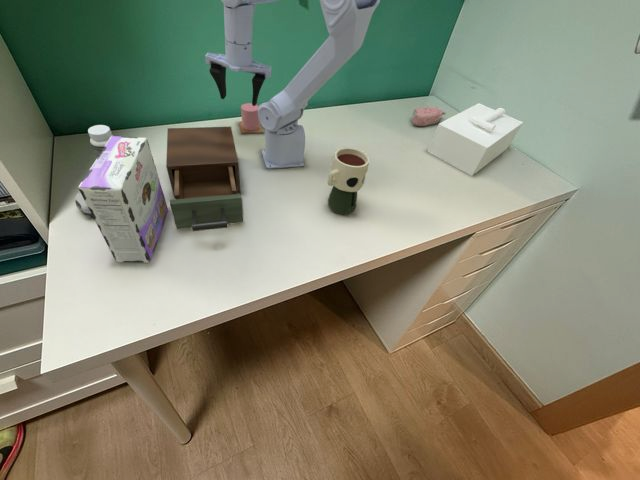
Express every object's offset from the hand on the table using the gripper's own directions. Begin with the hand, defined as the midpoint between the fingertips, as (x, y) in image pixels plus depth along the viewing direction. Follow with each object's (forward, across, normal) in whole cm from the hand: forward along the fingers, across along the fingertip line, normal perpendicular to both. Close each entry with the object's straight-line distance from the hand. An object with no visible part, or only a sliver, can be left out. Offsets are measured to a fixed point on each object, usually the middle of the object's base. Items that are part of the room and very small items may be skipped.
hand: (239, 100), depth 80 cm
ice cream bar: (+8, +55, +28) cm, 62 cm away
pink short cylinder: (+10, +2, +6) cm, 12 cm away
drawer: (+8, +2, -30) cm, 32 cm away
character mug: (+8, +29, -22) cm, 37 cm away
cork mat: (+11, +2, +6) cm, 12 cm away
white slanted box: (+7, +66, +14) cm, 68 cm away
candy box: (+10, -8, -39) cm, 41 cm away
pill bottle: (+11, -24, -19) cm, 33 cm away
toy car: (+11, -17, -31) cm, 37 cm away
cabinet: (+10, -3, -18) cm, 21 cm away
